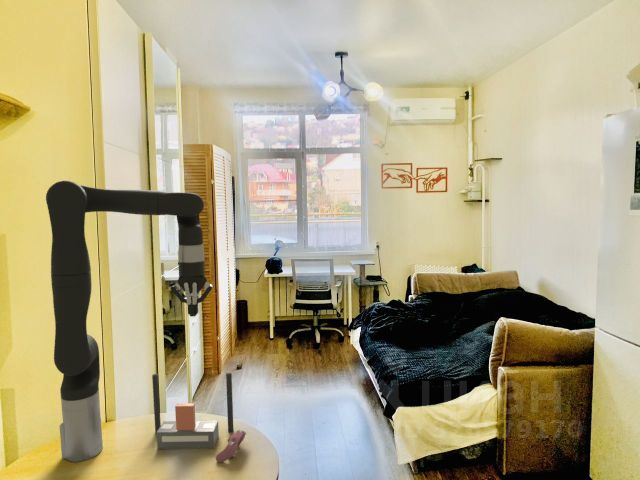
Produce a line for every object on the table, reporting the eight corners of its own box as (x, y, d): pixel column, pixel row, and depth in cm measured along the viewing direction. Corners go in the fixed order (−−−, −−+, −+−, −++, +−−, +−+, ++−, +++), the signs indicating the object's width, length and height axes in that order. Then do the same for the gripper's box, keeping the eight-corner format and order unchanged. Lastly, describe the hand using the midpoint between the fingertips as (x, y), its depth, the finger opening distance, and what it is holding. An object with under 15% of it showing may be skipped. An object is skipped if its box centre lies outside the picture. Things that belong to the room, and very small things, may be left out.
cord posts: (154, 433, 132) (151, 376, 130) (156, 430, 133) (153, 373, 131) (232, 432, 132) (230, 374, 130) (233, 429, 133) (232, 372, 132)
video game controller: (227, 470, 116) (238, 449, 115) (213, 461, 117) (223, 440, 116) (241, 449, 126) (251, 429, 125) (227, 441, 126) (237, 421, 125)
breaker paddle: (176, 430, 123) (175, 406, 123) (178, 427, 125) (176, 403, 124) (194, 429, 123) (193, 406, 123) (195, 426, 125) (194, 403, 124)
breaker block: (157, 449, 123) (156, 432, 123) (164, 437, 130) (163, 421, 129) (213, 448, 124) (213, 431, 123) (218, 436, 130) (218, 420, 129)
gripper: (165, 261, 128) (167, 319, 129) (210, 261, 128) (212, 319, 130) (173, 257, 135) (175, 312, 137) (216, 257, 135) (217, 312, 137)
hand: (193, 315), depth 133 cm, fingers closed
